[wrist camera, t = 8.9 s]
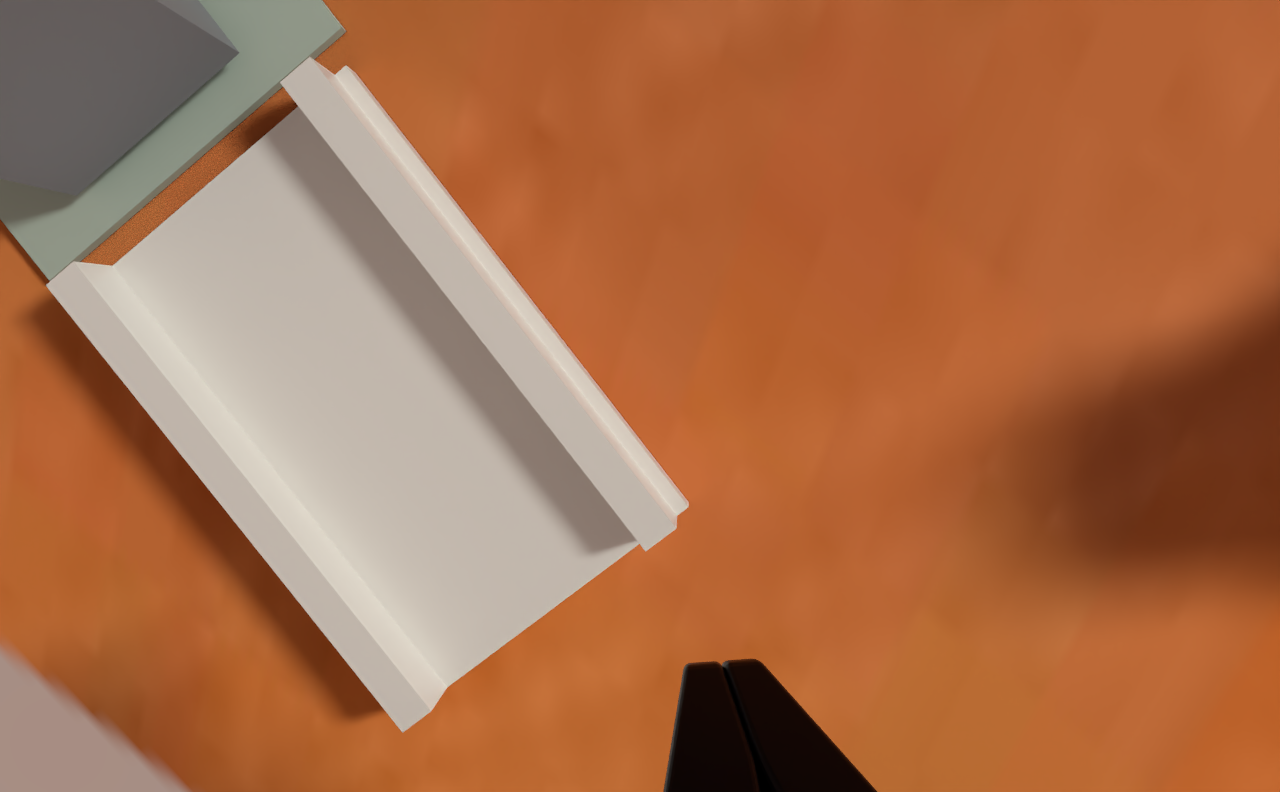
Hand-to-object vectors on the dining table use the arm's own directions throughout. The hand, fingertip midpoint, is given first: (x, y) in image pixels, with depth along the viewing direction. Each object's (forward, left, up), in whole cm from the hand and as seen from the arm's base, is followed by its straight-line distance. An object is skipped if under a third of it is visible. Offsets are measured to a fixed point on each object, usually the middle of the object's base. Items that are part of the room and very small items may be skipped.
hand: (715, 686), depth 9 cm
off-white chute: (-3, +8, -13) cm, 16 cm away
